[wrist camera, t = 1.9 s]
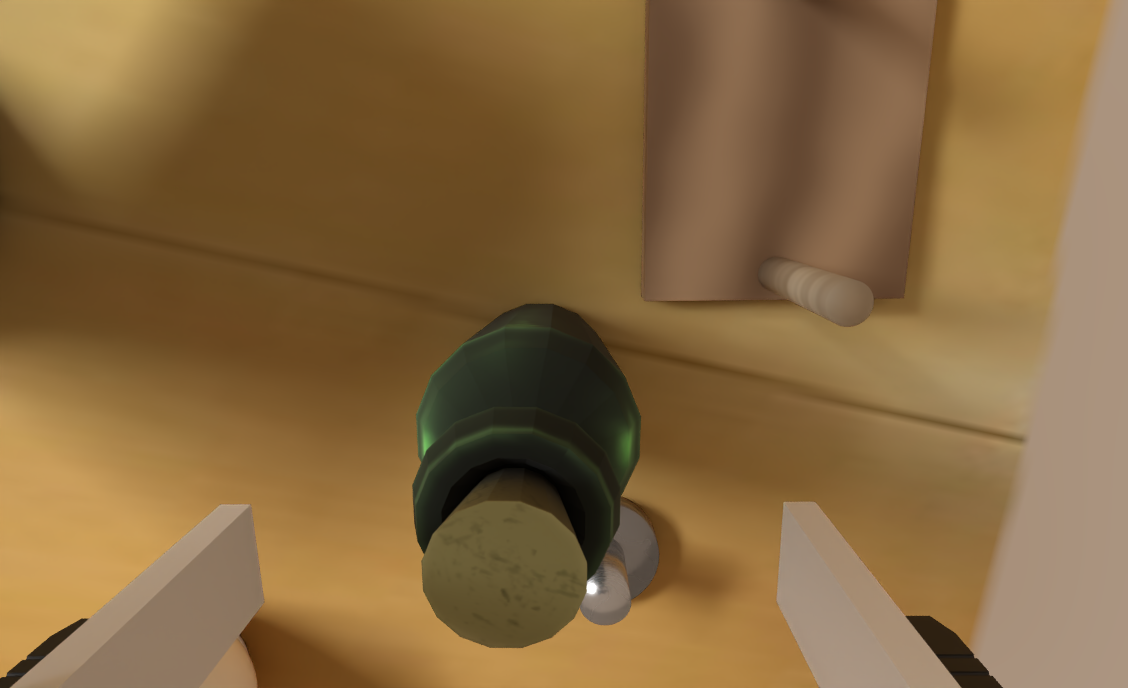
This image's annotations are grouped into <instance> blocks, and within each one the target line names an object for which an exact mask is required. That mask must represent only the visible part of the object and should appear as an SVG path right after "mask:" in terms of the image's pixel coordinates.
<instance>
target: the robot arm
mask: <svg viewBox="0 0 1128 688" xmlns="http://www.w3.org/2000/svg"><path fill="white" fill-rule="evenodd" d="M263 603H264V596H263V588H262V581H261V574H260V566H259V559H258V552H257V545H256V537H255V530H254V523H253V515H252V508H251V504H220V505H219V506H218V507H217V508H216V509H215V510H213V511H212V512H211V513H210V514H209V515H208V516H207V517H205V518H204V519H203V520H202V521H201V522H200V523H199V524H197V525H196V526H195V527H194V528H193V529H192V530H191V531H189V532H188V533H187V534H186V535H185V536H184V537H182V538H181V539H180V540H179V541H178V542H177V543H176V544H174V545H173V546H172V547H171V548H170V549H169V550H168V551H166V552H165V553H164V554H163V555H162V556H161V557H160V558H158V559H157V560H156V561H155V562H154V563H153V564H151V565H150V566H149V567H148V568H147V569H146V570H145V571H143V572H142V573H141V574H140V575H139V576H138V577H137V578H135V579H134V580H133V581H132V582H131V583H130V584H128V585H127V586H126V587H125V588H124V589H123V590H122V591H120V592H119V593H118V594H117V595H116V596H115V597H114V598H112V599H111V600H110V601H109V602H108V603H107V604H106V605H104V606H103V607H102V608H101V609H100V610H99V611H97V612H96V613H95V614H94V615H93V616H92V617H91V618H89V619H80V620H79V621H77V622H75V623H73V624H71V625H70V626H68V627H66V628H64V629H63V630H61V631H59V632H57V633H55V634H54V635H52V636H50V637H49V638H48V639H47V640H46V641H44V642H43V643H42V644H41V645H40V646H39V647H37V648H36V649H35V650H34V651H33V652H31V653H30V654H29V655H28V656H27V659H26V660H22V661H21V662H19V663H18V664H17V665H16V666H15V667H14V668H12V669H11V670H10V671H9V672H8V673H7V676H6V677H2V678H0V688H199V687H200V686H201V685H202V683H203V682H204V681H205V679H206V678H207V677H208V675H209V674H210V673H211V672H212V670H213V669H214V668H215V666H216V665H217V664H218V662H219V661H220V660H221V658H222V657H223V656H224V655H225V653H226V652H227V651H228V649H229V648H230V647H231V645H232V644H233V643H234V641H235V640H236V639H237V638H238V636H239V635H240V634H241V632H242V631H243V630H244V628H245V627H246V626H247V624H248V623H249V622H250V620H251V619H252V618H253V617H254V615H255V614H256V613H257V611H258V610H259V609H260V607H261V606H262V605H263ZM777 603H778V605H779V607H780V609H781V611H782V613H783V615H784V617H785V619H786V621H787V623H788V625H789V627H790V630H791V632H792V634H793V636H794V638H795V640H796V642H797V644H798V646H799V648H800V650H801V652H802V654H803V656H804V658H805V660H806V662H807V664H808V666H809V668H810V670H811V672H812V674H813V676H814V678H815V680H816V682H817V684H818V686H819V688H1003V687H1001V685H1000V684H999V683H998V682H997V681H996V679H995V678H994V677H993V676H990V675H989V671H988V670H987V669H986V668H985V667H984V666H983V664H982V663H981V662H980V661H979V660H978V659H977V658H974V654H973V653H972V652H971V651H970V649H969V648H968V647H967V646H966V645H965V644H964V643H963V641H962V640H961V639H960V638H959V637H958V636H957V635H956V634H955V633H954V632H953V631H951V630H950V629H948V628H947V627H945V626H944V625H942V624H941V623H939V622H938V621H936V620H935V619H933V618H932V617H930V616H905V615H904V614H903V613H902V612H901V610H900V609H899V608H898V606H897V605H896V604H895V603H894V601H893V600H892V599H891V598H890V596H889V595H888V594H887V592H886V591H885V590H884V589H883V587H882V586H881V585H880V584H879V582H878V581H877V580H876V578H875V577H874V576H873V575H872V573H871V572H870V571H869V570H868V568H867V567H866V566H865V564H864V563H863V562H862V561H861V559H860V558H859V557H858V556H857V554H856V553H855V552H854V550H853V549H852V548H851V547H850V545H849V544H848V543H847V541H846V540H845V539H844V538H843V536H842V535H841V534H840V533H839V531H838V530H837V529H836V527H835V526H834V525H833V524H832V522H831V521H830V520H829V519H828V517H827V516H826V515H825V513H824V512H823V511H822V510H821V508H820V507H819V506H818V505H817V503H816V502H784V504H783V518H782V532H781V546H780V560H779V574H778V588H777Z"/></svg>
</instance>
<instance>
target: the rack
mask: <svg viewBox="0 0 1128 688" xmlns="http://www.w3.org/2000/svg"><path fill="white" fill-rule="evenodd" d="M936 8H937V0H646V17H645V82H644V147H643V213H642V278H641V296H642V298H643V299H644V301H700V300H789V301H791V302H793V303H795V304H797V305H799V306H801V307H803V308H805V309H807V310H809V311H811V312H813V313H816V314H818V315H820V316H822V317H824V318H826V319H828V320H830V321H832V322H834V323H836V324H838V325H840V326H844V327H851V326H855V325H858V324H860V323H862V322H863V321H864V320H865V319H866V318H867V317H868V316H869V315H870V313H871V311H872V309H873V305H874V299H876V298H904V292H905V283H906V274H907V265H908V256H909V248H910V239H911V230H912V221H913V212H914V203H915V194H916V185H917V176H918V168H919V159H920V150H921V141H922V132H923V123H924V114H925V105H926V97H927V88H928V79H929V70H930V61H931V52H932V43H933V34H934V26H935V17H936Z"/></svg>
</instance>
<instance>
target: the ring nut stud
mask: <svg viewBox="0 0 1128 688" xmlns="http://www.w3.org/2000/svg"><path fill="white" fill-rule="evenodd" d="M658 562H659V549H658V544H657V539H656V535H655V531H654V528H653V526H652V523H651V522H650V520H649V518H648V517H647V515H646V514H645V513H644V512H643V511H642V509H641V508H639V507H638V506H637V505H636V504H634V503H633V502H631V501H629V500H627V499H625V498H623V497H621V501H620V526H619V528H618V530H617V532H616V534H615V536H614V538H613V540H612V542H611V544H610V546H609V548H608V550H607V552H606V554H605V556H604V558H603V560H602V562H601V564H600V566H599V568H598V570H597V571H596V573H595V575H594V576H592V577H591V578H590V579H589V580H588V581H587V593H586V595H585V597H584V599H583V601H582V603H581V605H580V609H581V612H582V614H583V615H584V616H585V617H586V618H587V619H588V620H589V621H591V622H593V623H595V624H598V625H612V624H615V623H617V622H619V621H621V620H622V619H624V618H625V617H626V615H627V614H628V612H629V610H630V607H631V599H633V598H635V597H636V596H638V595H639V594H640V593H641V592H642V591H643V590H644V589H645V588H646V587H647V586H648V585H649V584H650V582H651V581H652V579H653V577H654V575H655V573H656V570H657V567H658Z"/></svg>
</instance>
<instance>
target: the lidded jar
mask: <svg viewBox="0 0 1128 688" xmlns="http://www.w3.org/2000/svg"><path fill="white" fill-rule="evenodd" d="M199 688H258V686H257V678H256V672H255V669H254V666H253V663H252V661H251V659H250V657H249V653H248V650H247V647H246V645H245V643H244V641H243V639H242V638H241V636H240V635H239V636H238V638H237V639H236V640H235V641H234V643H233V644H232V645H231V647H230V648H229V649H228V651H227V652H226V653H225V655H224V656H223V657H222V658H221V660H220V661H219V662H218V664H217V665H216V666H215V668H214V669H213V670H212V672H211V673H210V674H209V675H208V677H207V678H206V679H205V681H204V682H203V683H202V685H201V686H200V687H199Z"/></svg>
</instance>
